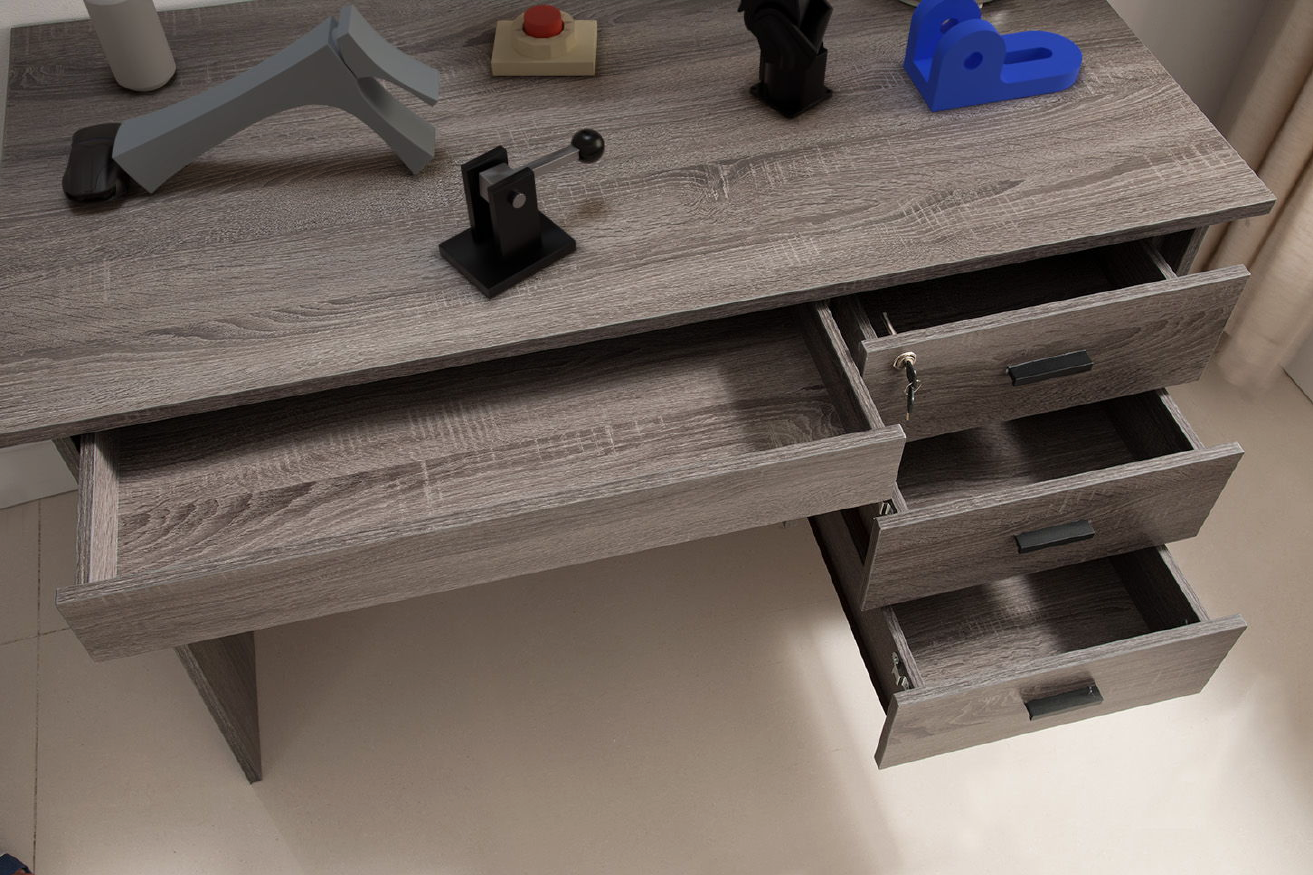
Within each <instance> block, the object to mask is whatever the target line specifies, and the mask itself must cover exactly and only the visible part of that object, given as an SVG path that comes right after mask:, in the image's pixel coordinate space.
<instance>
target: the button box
mask: <svg viewBox="0 0 1313 875" xmlns="http://www.w3.org/2000/svg"><path fill="white" fill-rule="evenodd" d="M559 11H560V12H561V19H562V31H561V33H560V34H559V35H556V36H553V37H550V38H533V37H531V36H528V35H527V34H526V32H525V25H524V13H525V12H526V11H524V12H521V13H520V15H518V16H517V17H516V18H515V19H514V20H497V22H496V28H495V34H494V35H495V36H494V42H493V48H492V55H491V60H490V65H491V73H492V76H493V77H513V76H514V77H540V76H541V77H542V76H543V77H545V76H549V77H550V76H551V77H553V76H555V77H556V76H557V77H558V76H566V77H568V76H570V77H571V76H573V77H574V76H576V77H577V76H578V77H580V76H584V77H585V76H586V77H587V76H595V73H596V58H597V43H598V23H597V22H598V21H597V20H595V19H593V20H592V19H589V20H587V19H584V20H583V19H580V20H579V19H577V20H576V19H574V18H573V16H571V15H570V13H568V12H565V11H563V10H560V9H559Z"/></svg>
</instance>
